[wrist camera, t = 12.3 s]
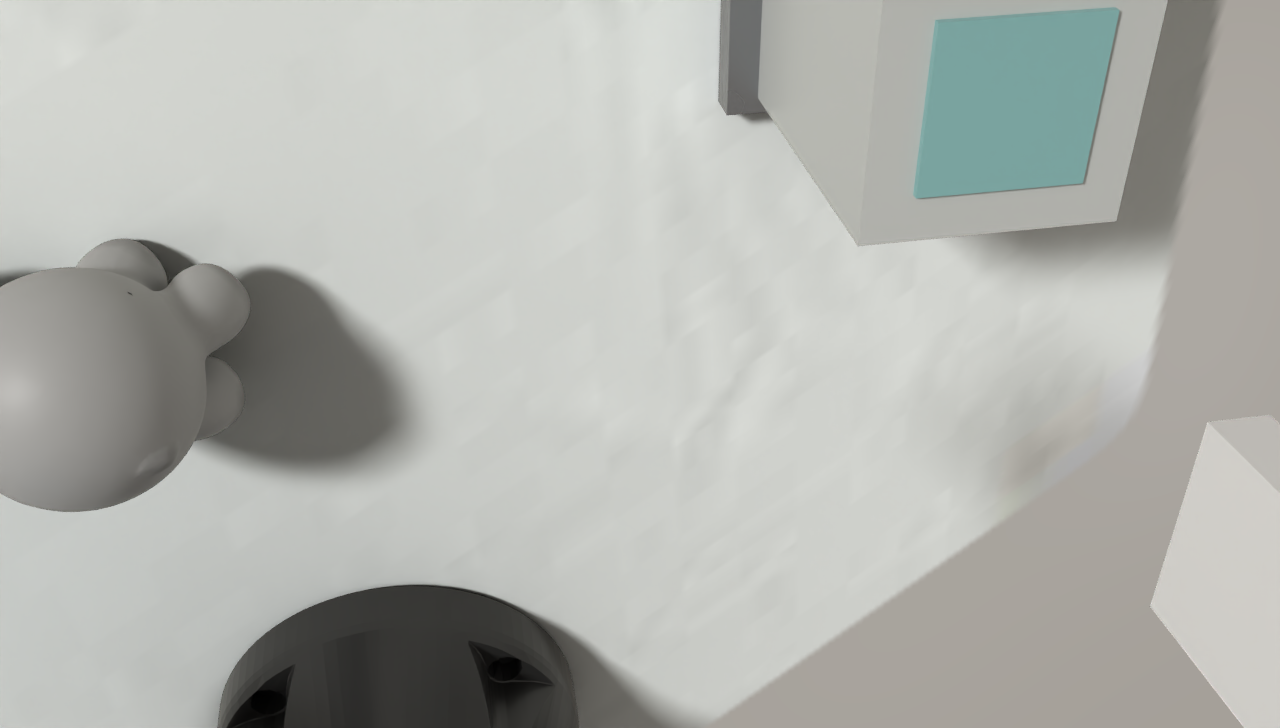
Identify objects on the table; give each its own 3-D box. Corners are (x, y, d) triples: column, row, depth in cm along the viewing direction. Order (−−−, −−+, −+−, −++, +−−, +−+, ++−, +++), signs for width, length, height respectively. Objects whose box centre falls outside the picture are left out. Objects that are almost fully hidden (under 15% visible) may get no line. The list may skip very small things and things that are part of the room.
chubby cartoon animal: (-65, 137, 39) (-295, 230, 32) (284, 263, 39) (134, 387, 31) (-65, 328, 42) (-273, 452, 35) (255, 445, 42) (114, 595, 35)
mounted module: (966, 81, 40) (1120, 224, 32) (758, 97, 39) (860, 249, 31) (998, -146, 36) (1185, -51, 28) (768, -134, 35) (889, -32, 27)
